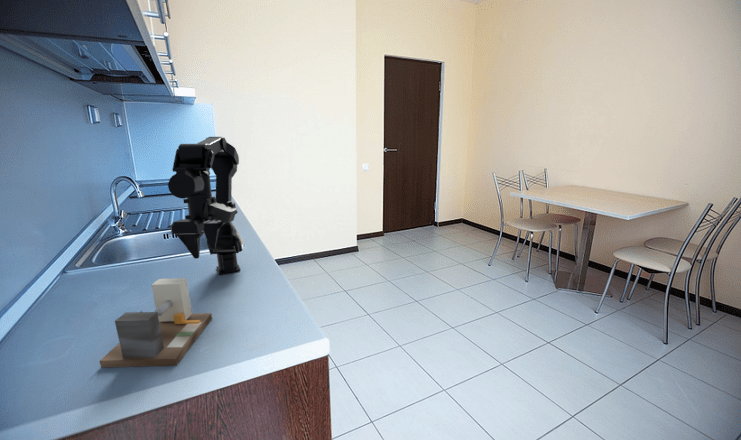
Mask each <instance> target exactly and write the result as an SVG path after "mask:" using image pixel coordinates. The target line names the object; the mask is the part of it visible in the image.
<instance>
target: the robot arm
mask: <svg viewBox="0 0 741 440" xmlns="http://www.w3.org/2000/svg"><path fill="white" fill-rule="evenodd" d="M239 164H240V157H239V153H238V151H237V149H236V147H234V145H232V144H231V143H229V142H227V140H226V138H225V137H223V136H208V137H206V138H205V139H203V140H201V141H199V142H197V143H180V144H179V145H178V146H177V149H176V151H175V155H174V160H173V165H172V172H174V174H173V175H172V176H171V177H170V178H169V180H168V183H167V188H168V191H169V193H171V195H173V197H175V198H178V199H183V204H187V211H188V214H186V215H185V216H184V217H185V219H184V218H182V219H178V220H176V221H173V222H172V223H171V225H170V233H171V235H174V236H175V237H178V239H179V240H180V241H181V242H182V243H183V245H184V246H185V248H186V249H187V250H188V252H189V253H190V255H191V256H192V257H193V259H199V258H200V253H201V252H200V250H201V249H200V247H201V246H200V245H201V237H202V236H203V235H205V238H206V244H207V248H208V251H209V254H210V255H212V256H213V255H216V257H217V266H216V267H215V268H216V270H217V273H218V275H220V276H221V275H226V274H229V273H235V272H240V271H241V268H240V266H239V264H238V258H237V257H238V256H237V254H239V253H241V252H242V251H243V245H242V241H241V239H240V237H239V236H238V234H237V233H238V232H237V229H236V227H235V226H234V225H233V223H232V222H233V221H234V220H235V217H236V215H237V214H238V208H237V207H236V206H237V205H236V203H235V202H233V201H232V191H233V190H232V187H233V186H232V181H233V179H232V178H233V177H234V176H235V175H236V173H237V171H238V165H239ZM210 170H212V171H213V174H215V196H212V185H211V184H212V183H211V176H210V175H211V171H210Z"/></svg>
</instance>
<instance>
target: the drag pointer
mask: <svg viewBox="0 0 741 440" xmlns="http://www.w3.org/2000/svg"><path fill="white" fill-rule="evenodd" d="M174 322H175V324H198V323H200V322H201V320H185V319H184V313H176V314H175V315H174Z"/></svg>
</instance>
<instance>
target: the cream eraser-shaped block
mask: <svg viewBox="0 0 741 440" xmlns="http://www.w3.org/2000/svg"><path fill="white" fill-rule="evenodd" d="M151 289H152V295H153V299H154V305H155V310H154V312H157V313H158V318H159V321H174V315H175V314H176V313H184V319H185V320H187V319H188V318H189V317H190V315H191V314H193V312H192V307H191V299H190V293H189V285H188V280H187V278H185V277H184V278H183V277H181V278H180V277H179V278H158V279H157V280H155V282H152V284H151Z"/></svg>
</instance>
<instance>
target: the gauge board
mask: <svg viewBox="0 0 741 440" xmlns="http://www.w3.org/2000/svg"><path fill="white" fill-rule="evenodd" d="M187 320H201V322H200V323H198V324H175V322H174V321H159V318H158V313H157V312H155V311H141V312H140V311H138V312H137V311H135V312H133V311H132V312H130V311H129V312H128V311H127V312H124V313H123V314H122V315H120V316H118V318H116V319H115V320H114V324H115V327H116V334H117V338H118V342H119V343H118V344H116V345H115V346H114V347H113V348H112V349H111V350H110V351H109V352H108V353H106V354H105V355H104V356H103V357H102V358H100V360H99V365H100V368H102V369H103V368H131V367H132V368H134V367H135V368H136V367H165V366H166V367H168V366H178V364H179V363H180V361H181V360H182V359H183V358H184V356H185V355H186V354H187V353H188V351H189V349H191V347H192V346H193V345H194V343H195V342H196V341H197V340H198V339H199V337H200V335H201V334H202V333H203V332H204V330H205V329H206V327H207V326H208V325H209V324H210V322H211V321H212V320H213V316H212V312H209V313H208V312H205V313H201V312H200V313H192V314H191V315H190V317H189V318H188V319H187Z"/></svg>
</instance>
